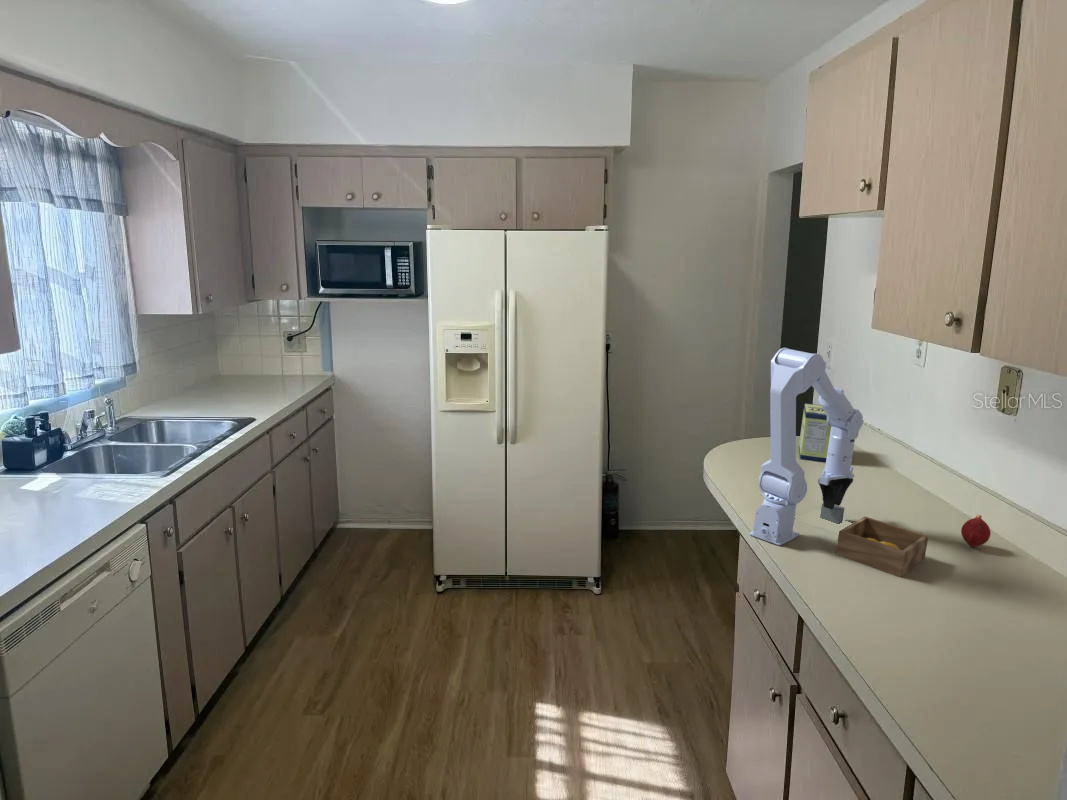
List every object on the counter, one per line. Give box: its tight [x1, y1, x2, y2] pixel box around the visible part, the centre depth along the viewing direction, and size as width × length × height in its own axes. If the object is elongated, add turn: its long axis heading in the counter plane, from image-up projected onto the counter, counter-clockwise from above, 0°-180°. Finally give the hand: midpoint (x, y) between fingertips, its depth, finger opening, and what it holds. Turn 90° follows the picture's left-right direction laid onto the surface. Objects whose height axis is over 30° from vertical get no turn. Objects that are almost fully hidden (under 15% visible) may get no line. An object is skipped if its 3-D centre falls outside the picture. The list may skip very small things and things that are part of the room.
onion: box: [960, 514, 991, 548], centre depth 168 cm, size 6×6×8 cm
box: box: [835, 516, 930, 578], centre depth 161 cm, size 14×14×6 cm
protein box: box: [798, 402, 832, 463], centre depth 236 cm, size 10×16×16 cm
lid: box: [820, 503, 845, 524], centre depth 181 cm, size 14×14×5 cm
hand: (831, 506), depth 180 cm, fingers open, 3 cm apart
